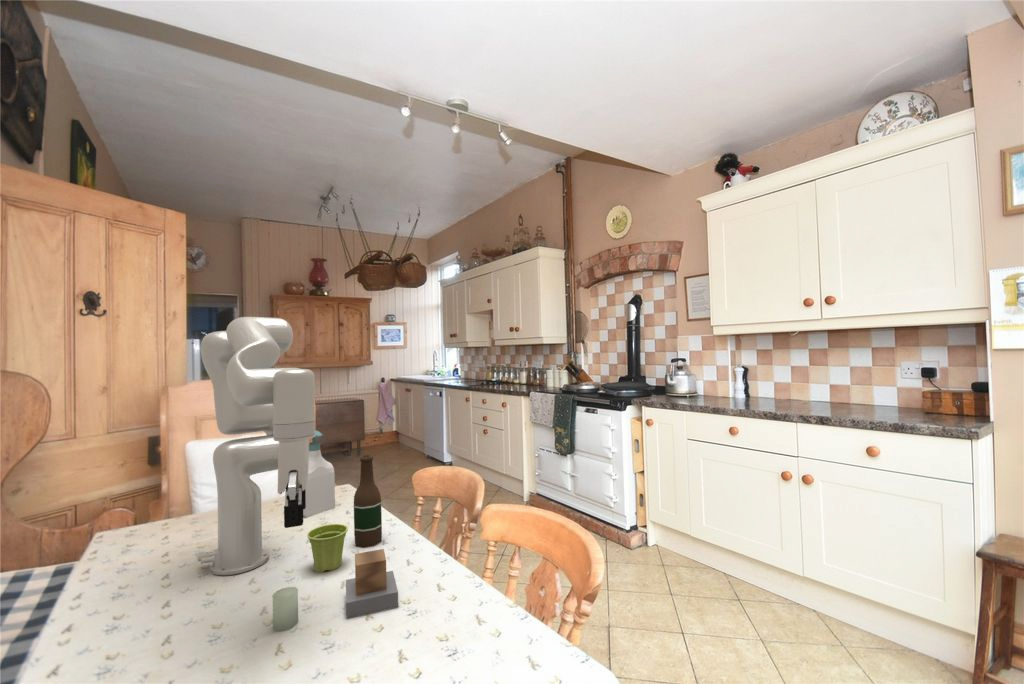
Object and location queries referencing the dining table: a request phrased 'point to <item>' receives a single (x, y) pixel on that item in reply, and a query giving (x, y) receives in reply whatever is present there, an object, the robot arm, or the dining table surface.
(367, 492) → the beer bottle
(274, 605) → the tin
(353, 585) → the plinth
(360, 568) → the cube
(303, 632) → the dining table surface
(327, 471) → the soap bottle
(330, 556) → the plant pot
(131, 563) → the dining table surface
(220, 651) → the dining table surface
